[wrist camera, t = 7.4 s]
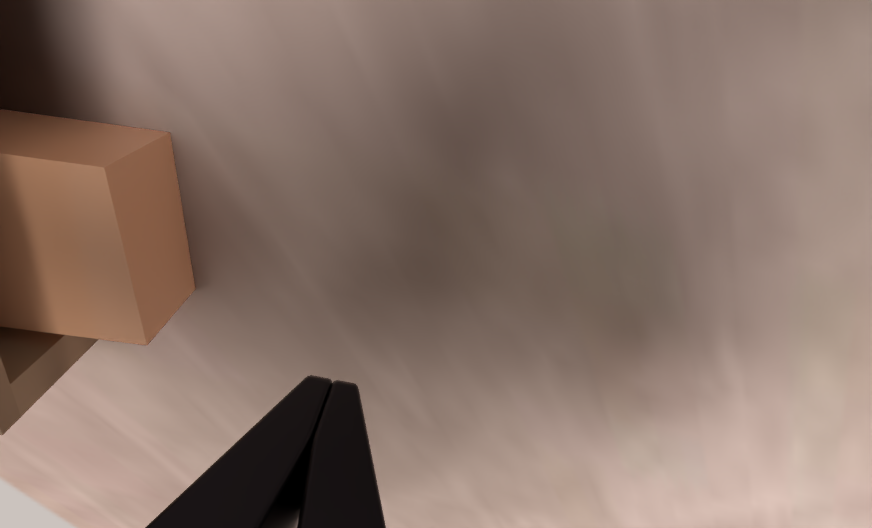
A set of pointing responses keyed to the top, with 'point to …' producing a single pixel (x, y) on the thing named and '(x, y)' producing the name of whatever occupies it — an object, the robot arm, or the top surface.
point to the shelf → (32, 367)
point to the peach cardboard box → (89, 229)
